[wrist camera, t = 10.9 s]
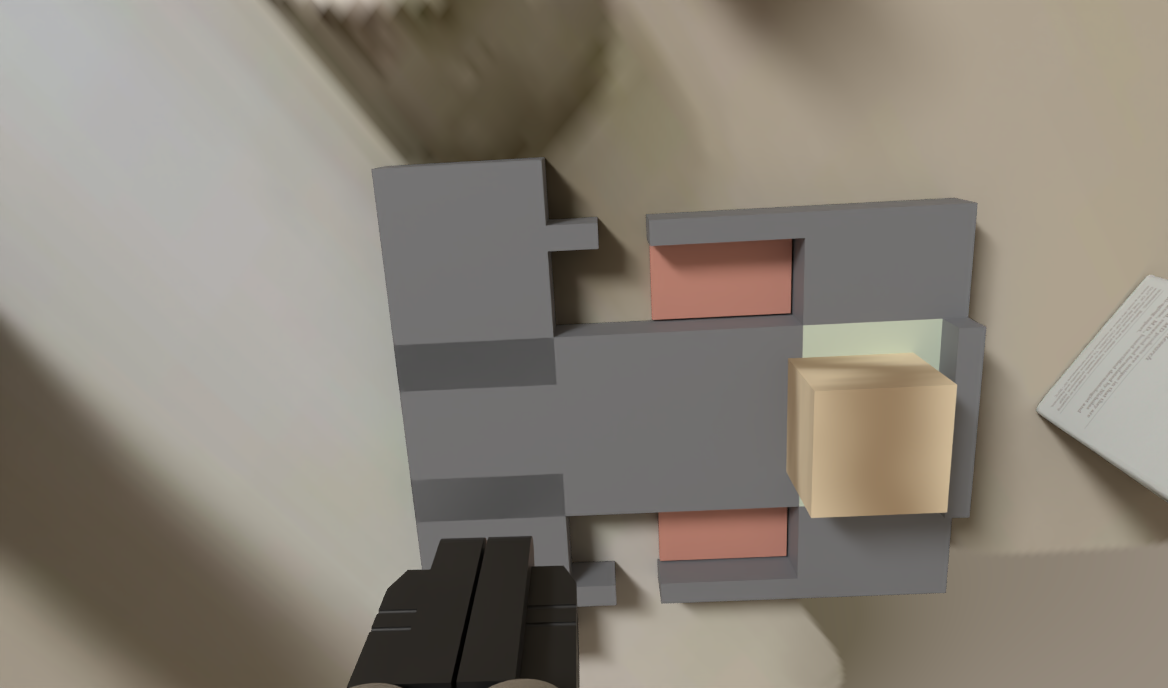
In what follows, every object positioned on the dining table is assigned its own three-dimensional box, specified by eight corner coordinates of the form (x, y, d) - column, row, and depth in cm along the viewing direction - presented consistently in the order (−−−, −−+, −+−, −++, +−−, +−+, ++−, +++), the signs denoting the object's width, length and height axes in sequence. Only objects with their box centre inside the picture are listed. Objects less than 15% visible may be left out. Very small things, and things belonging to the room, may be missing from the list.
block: (786, 471, 33) (811, 517, 29) (788, 358, 32) (814, 391, 28) (906, 466, 33) (947, 512, 29) (913, 352, 31) (957, 384, 28)
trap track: (441, 632, 38) (426, 682, 34) (385, 166, 32) (359, 171, 28) (924, 614, 37) (956, 663, 34) (959, 134, 31) (1003, 136, 28)
